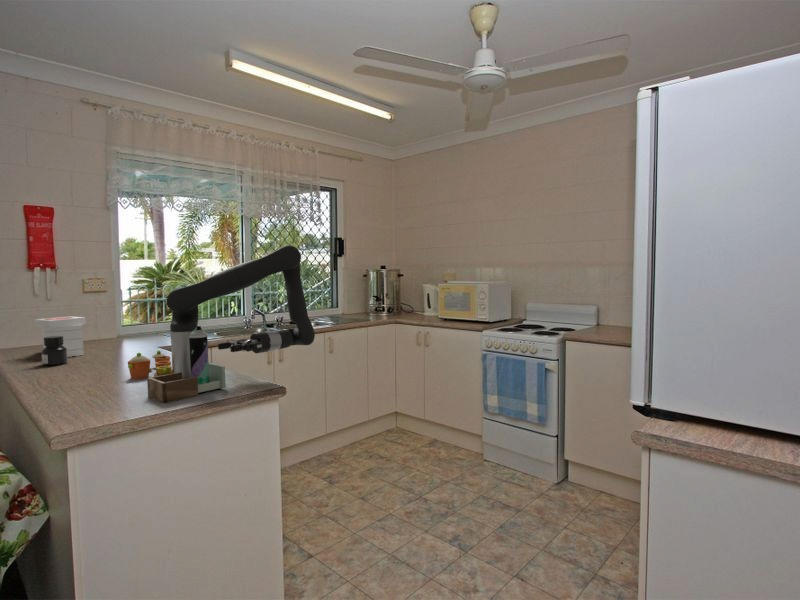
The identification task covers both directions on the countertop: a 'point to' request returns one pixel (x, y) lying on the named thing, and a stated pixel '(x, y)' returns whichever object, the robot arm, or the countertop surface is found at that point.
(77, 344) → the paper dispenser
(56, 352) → the ink bottle
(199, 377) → the spray can
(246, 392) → the countertop surface
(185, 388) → the frame
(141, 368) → the toy tea set
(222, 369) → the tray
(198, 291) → the robot arm
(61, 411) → the countertop surface
